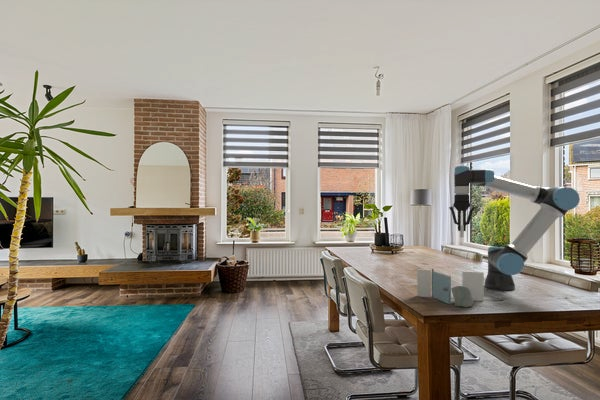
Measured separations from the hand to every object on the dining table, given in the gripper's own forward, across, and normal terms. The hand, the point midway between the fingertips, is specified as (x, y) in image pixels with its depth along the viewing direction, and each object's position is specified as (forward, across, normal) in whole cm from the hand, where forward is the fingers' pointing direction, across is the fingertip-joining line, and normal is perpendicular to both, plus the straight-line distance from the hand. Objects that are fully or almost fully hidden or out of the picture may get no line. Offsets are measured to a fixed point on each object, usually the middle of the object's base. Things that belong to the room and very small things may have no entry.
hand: (461, 237), depth 191 cm
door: (+29, +14, +24) cm, 40 cm away
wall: (+29, +8, +18) cm, 35 cm away
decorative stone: (+30, +4, +28) cm, 41 cm away
